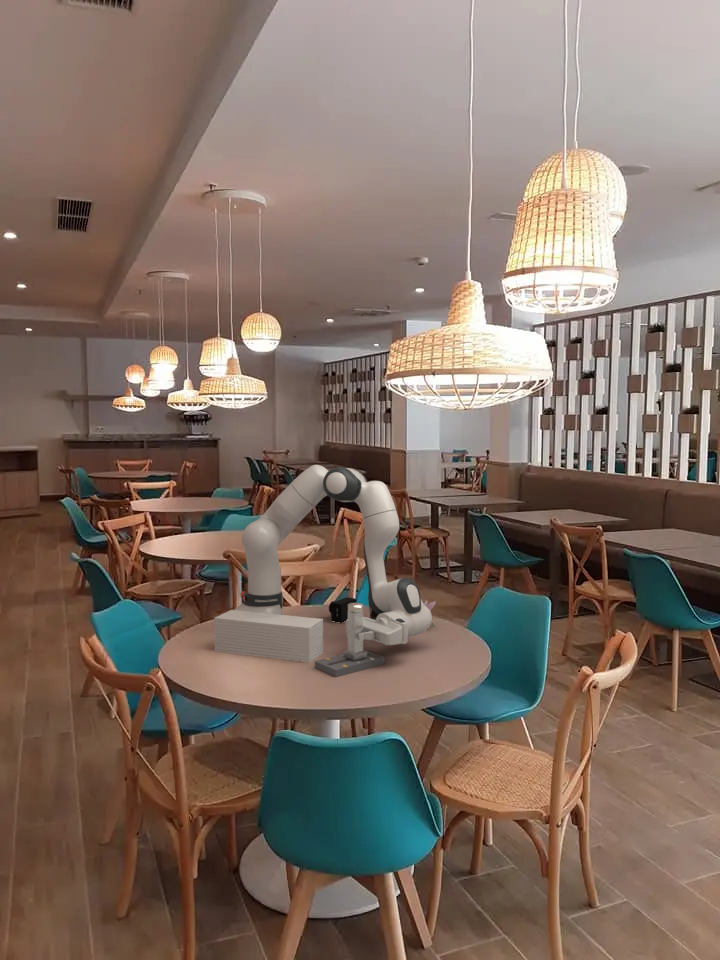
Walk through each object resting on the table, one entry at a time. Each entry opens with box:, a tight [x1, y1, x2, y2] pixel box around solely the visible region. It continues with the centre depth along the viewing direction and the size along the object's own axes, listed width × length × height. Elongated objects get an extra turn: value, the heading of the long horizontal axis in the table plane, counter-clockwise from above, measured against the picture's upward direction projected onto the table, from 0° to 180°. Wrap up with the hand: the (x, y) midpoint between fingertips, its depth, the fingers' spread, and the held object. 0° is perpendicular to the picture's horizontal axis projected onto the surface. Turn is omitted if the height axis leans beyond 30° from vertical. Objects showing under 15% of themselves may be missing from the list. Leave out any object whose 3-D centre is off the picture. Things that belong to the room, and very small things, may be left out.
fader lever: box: [342, 602, 367, 661], centre depth 217 cm, size 5×5×16 cm
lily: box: [423, 599, 437, 628], centre depth 257 cm, size 12×12×10 cm
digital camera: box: [328, 596, 358, 624], centre depth 268 cm, size 10×5×7 cm, turn 148°
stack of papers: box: [213, 609, 324, 663], centre depth 230 cm, size 32×11×11 cm, turn 70°
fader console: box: [314, 648, 385, 678], centre depth 217 cm, size 18×10×2 cm, turn 129°
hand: (352, 635), depth 217 cm, fingers closed on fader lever, 3 cm apart
